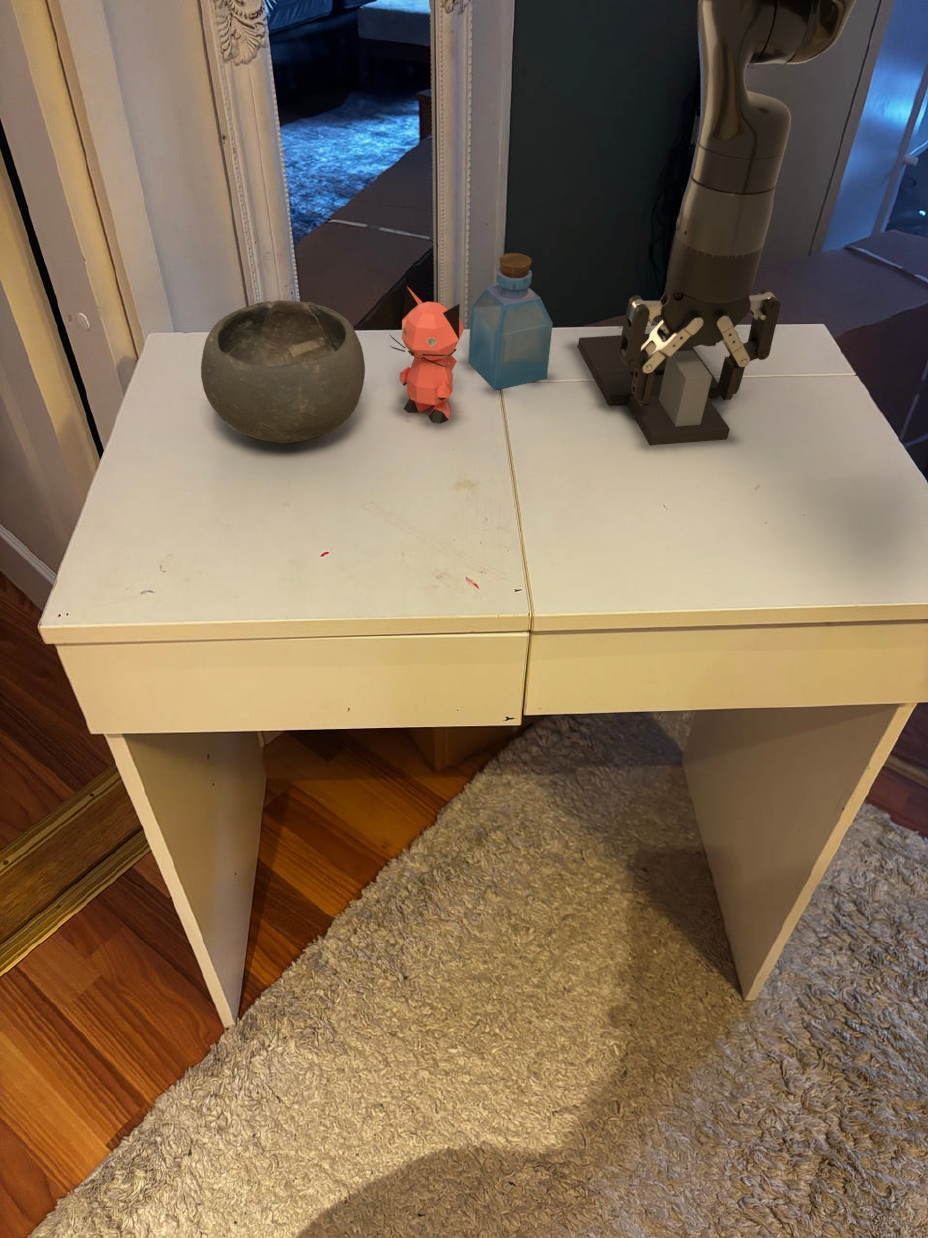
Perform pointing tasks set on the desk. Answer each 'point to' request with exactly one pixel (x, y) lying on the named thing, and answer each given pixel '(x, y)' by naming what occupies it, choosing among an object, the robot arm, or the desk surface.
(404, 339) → the cat figurine
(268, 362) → the bowl
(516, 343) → the perfume bottle
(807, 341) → the desk surface
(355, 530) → the desk surface
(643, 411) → the tab pad
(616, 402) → the notch pad
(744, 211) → the robot arm
